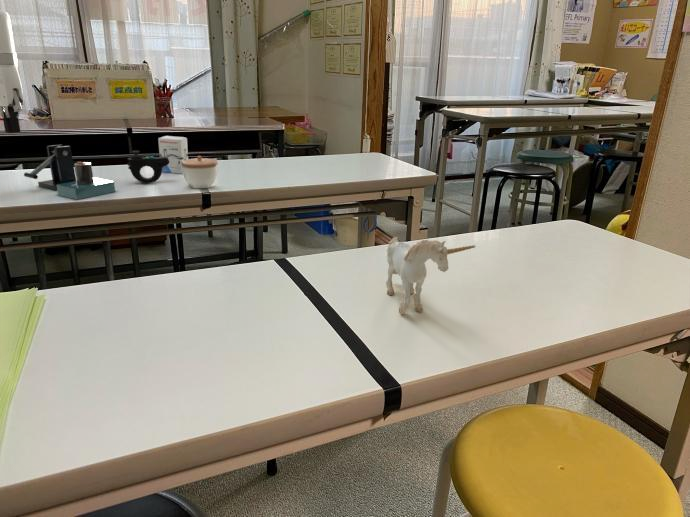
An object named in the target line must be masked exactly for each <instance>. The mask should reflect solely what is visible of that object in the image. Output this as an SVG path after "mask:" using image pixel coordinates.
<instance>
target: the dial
mask: <svg viewBox="0 0 690 517" xmlns="http://www.w3.org/2000/svg"><path fill="white" fill-rule="evenodd" d="M73 165H74V171H75V177H76V180H77V184H81V185H85V184H92V183H94V178H95V177H94V173H93V166H92V162H88V161H87V162H85V161H84V162H82V161H77V162H76V163H73Z"/></svg>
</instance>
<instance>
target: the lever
mask: <svg viewBox="0 0 690 517" xmlns="http://www.w3.org/2000/svg"><path fill="white" fill-rule="evenodd" d="M57 147H62V146H57ZM51 152H52V153H53V155H52V156H50V157H49V158H48V157H47V159H45V160H44V161H43V162H42V163H40V164H39V165H38V166H37V167H36V168H34V169H33V170H32V171H30V173H29V172H24V173H23V176H24V177H25V178H29V179H33V180H37V179H38V178H39V176H38V174H39V173H40V172H42V171H43V170H44V169H45V168H47V167H48V166H50V163H51V162H52V161H53V160H55V159H56V155H55V149H54V150H53V151H51Z"/></svg>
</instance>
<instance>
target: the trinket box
mask: <svg viewBox="0 0 690 517" xmlns="http://www.w3.org/2000/svg"><path fill="white" fill-rule="evenodd" d="M181 164H182V170H183V174H182V175H183V178H184V180H185V181H186V183H188V185H190V186H191V188H193V189H208V188H211V187H212V185H213V184H214V183H215V182H216V180H217V177H218V171H219V168H218V164H219V163H218V160H216V159H214V158H207V157H204V158H203V157H202V156H201V155H197V157H196V158H195V157H194V158H188V159H187V160H183V161H182V162H181Z"/></svg>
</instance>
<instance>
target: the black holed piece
mask: <svg viewBox="0 0 690 517" xmlns="http://www.w3.org/2000/svg"><path fill="white" fill-rule="evenodd" d="M132 153H133V155H131V156H130V157H128V158H127V161H128V163H127V166H128V167H127V168H128V170H130V173H131V175H132V177H133V178H134V179H135V180H137V181H138V182H140V183H144V184H152V183H155V182H156V181H158V180H159V179H160V178H161V176H162V173H163V172H162V168H163V167H164V166H166V165H168V164H169V162H170V161H169V159H168V157H160V156H152V155H151V156H149V155H145V156H142V155H140V150H132ZM144 167H149V168H151V169H152V171H153V174H152V175H151V176H150V177H145V176H143V175H142V174H141V171H142V169H144Z"/></svg>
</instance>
